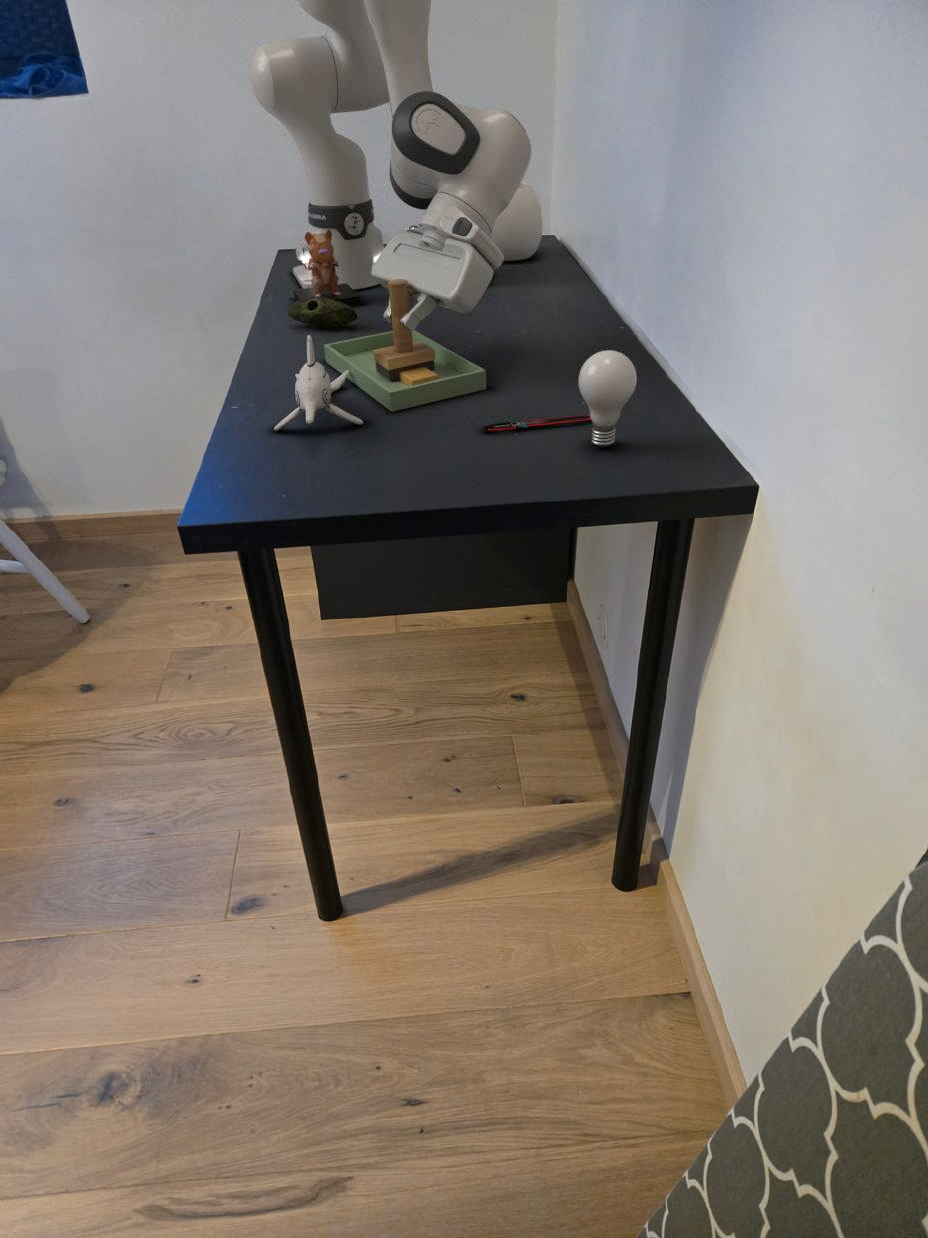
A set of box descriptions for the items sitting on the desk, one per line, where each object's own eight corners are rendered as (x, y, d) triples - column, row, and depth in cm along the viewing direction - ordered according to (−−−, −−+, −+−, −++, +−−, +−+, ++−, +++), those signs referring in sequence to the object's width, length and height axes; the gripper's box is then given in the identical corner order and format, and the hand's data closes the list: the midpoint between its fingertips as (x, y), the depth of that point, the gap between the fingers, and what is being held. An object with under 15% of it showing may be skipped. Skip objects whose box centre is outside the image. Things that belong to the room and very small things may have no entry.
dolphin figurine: (263, 446, 93) (247, 346, 88) (287, 411, 116) (276, 330, 111) (361, 439, 93) (350, 339, 89) (366, 405, 116) (357, 325, 112)
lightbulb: (570, 436, 97) (574, 344, 91) (623, 433, 98) (630, 340, 91) (581, 460, 92) (586, 363, 86) (636, 456, 92) (645, 359, 86)
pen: (595, 422, 100) (596, 417, 100) (483, 434, 98) (483, 429, 98) (591, 416, 102) (591, 411, 101) (480, 427, 100) (480, 422, 100)
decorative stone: (292, 337, 132) (287, 305, 129) (289, 324, 138) (284, 293, 135) (359, 330, 134) (356, 298, 131) (354, 317, 140) (350, 287, 137)
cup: (543, 264, 165) (545, 189, 157) (478, 266, 165) (476, 192, 157) (539, 249, 176) (540, 178, 168) (478, 251, 176) (476, 181, 168)
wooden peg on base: (375, 371, 115) (365, 282, 108) (420, 360, 118) (414, 273, 111) (389, 381, 112) (380, 289, 105) (436, 370, 115) (430, 280, 108)
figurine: (304, 312, 143) (294, 238, 136) (294, 298, 151) (283, 227, 144) (360, 304, 146) (352, 232, 139) (347, 291, 154) (339, 221, 147)
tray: (325, 361, 122) (323, 344, 121) (411, 344, 127) (409, 327, 126) (391, 412, 106) (389, 392, 104) (486, 388, 111) (486, 370, 109)
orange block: (399, 380, 113) (398, 372, 112) (425, 374, 114) (424, 366, 114) (412, 389, 110) (411, 380, 109) (438, 383, 112) (438, 374, 111)
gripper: (392, 208, 114) (341, 295, 115) (485, 228, 101) (427, 326, 102) (420, 238, 119) (371, 321, 120) (513, 260, 106) (456, 354, 107)
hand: (397, 324), depth 111 cm, fingers closed on wooden peg on base, 2 cm apart
